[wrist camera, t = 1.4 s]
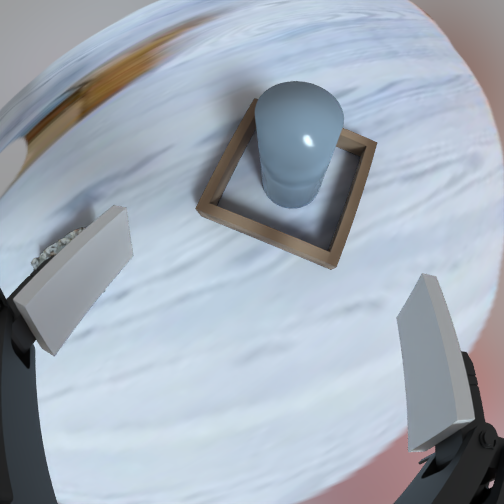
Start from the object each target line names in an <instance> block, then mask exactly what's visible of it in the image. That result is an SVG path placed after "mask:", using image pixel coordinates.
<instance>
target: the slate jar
mask: <svg viewBox="0 0 504 504" xmlns="http://www.w3.org/2000/svg"><path fill="white" fill-rule="evenodd" d="M255 121H256V129H257V138H258V147H259V156H260V165H261V175H262V184H263V188H264V191H265V193H266V195H267V196H268V198H269V199H270V200H271V201H273V202H274V203H275V204H277V205H279V206H282V207H285V208H300V207H303V206H305V205H307V204H309V203H310V202H311V201H313V200H314V198H315V197H316V196H317V194H318V192H319V189H320V187H321V184H322V181H323V179H324V176H325V174H326V171H327V168H328V166H329V163H330V160H331V158H332V155H333V152H334V150H335V147H336V144H337V142H338V139H339V136H340V133H341V131H342V128H343V124H344V115H343V111H342V108H341V106H340V104H339V102H338V101H337V100H336V98H335V97H334V96H333V95H332V94H330V93H329V92H328V91H326V90H325V89H323V88H321V87H319V86H317V85H314V84H311V83H307V82H299V81H291V82H284V83H280V84H277V85H275V86H273V87H271V88H269V89H268V90H266V91H265V92H264V93H263V94H262V95H261V96H260V98H259V99H258V101H257V103H256V107H255Z"/></svg>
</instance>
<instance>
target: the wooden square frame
mask: <svg viewBox="0 0 504 504" xmlns="http://www.w3.org/2000/svg"><path fill="white" fill-rule="evenodd" d="M257 101H258V99H255V98H254V100H253V102H252V103H251V105H250V107H249V109H248V110H247V112H246V114H245V116H244V117H243V119H242V121H241V123H240V124H239V126H238V128H237V130H236V132H235V133H234V135H233V137H232V139H231V141H230V142H229V144H228V146H227V148H226V150H225V152H224V154H223V155H222V157H221V159H220V161H219V163H218V165H217V167H216V169H215V171H214V173H213V175H212V177H211V178H210V180H209V182H208V184H207V186H206V188H205V190H204V192H203V194H202V196H201V198H200V200H199V202H198V204H197V206H196V210H197V211H198V213H199V214H200V215H201V216H202V217H205V218H207V219H210V220H212V221H215V222H217V223H219V224H222V225H224V226H227V227H229V228H232V229H234V230H237V231H239V232H241V233H244V234H246V235H249V236H251V237H254V238H256V239H258V240H261V241H263V242H266V243H268V244H271V245H273V246H275V247H278V248H280V249H283V250H285V251H287V252H290V253H292V254H295V255H297V256H299V257H302V258H304V259H307V260H309V261H311V262H314V263H316V264H318V265H321V266H323V267H325V268H328V269H330V270H332V269H334V268H336V267H337V264H338V262H339V259H340V256H341V254H342V251H343V248H344V246H345V243H346V240H347V237H348V234H349V232H350V229H351V226H352V223H353V220H354V217H355V214H356V211H357V208H358V205H359V202H360V199H361V196H362V193H363V190H364V186H365V183H366V180H367V177H368V173H369V170H370V167H371V163H372V160H373V156H374V153H375V149H376V145H377V142H375V141H372V140H370V139H368V138H366V137H363V136H361V135H359V134H356V133H354V132H352V131H349V130H347V129H344V128H342V131H341V133H340V136H339V139H338V142H337V144H336V147H339V148H341V149H343V150H346V151H348V152H351V153H353V154H355V155H358V156H360V160H359V163H358V166H357V170H356V173H355V176H354V179H353V182H352V185H351V188H350V191H349V194H348V197H347V199H346V202H345V205H344V208H343V211H342V214H341V216H340V219H339V222H338V225H337V228H336V230H335V233H334V236H333V238H332V241H331V244H330V246H329V249H328V251H326V250H324V249H321V248H319V247H317V246H314V245H312V244H309V243H307V242H305V241H302V240H300V239H297V238H295V237H293V236H290V235H288V234H285V233H283V232H281V231H278V230H276V229H273V228H271V227H268V226H266V225H263V224H261V223H258V222H256V221H253V220H251V219H248V218H246V217H243V216H241V215H238V214H236V213H233V212H231V211H228V210H226V209H223V208H221V207H218V206H217V204H218V202H219V200H220V198H221V196H222V194H223V192H224V190H225V188H226V186H227V184H228V182H229V180H230V178H231V176H232V174H233V172H234V170H235V168H236V166H237V164H238V162H239V160H240V158H241V156H242V154H243V152H244V150H245V148H246V146H247V144H248V142H249V141H250V139H251V137H252V135H253V133H254V131H255V129H256V121H255V107H256V103H257Z"/></svg>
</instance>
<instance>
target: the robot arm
mask: <svg viewBox="0 0 504 504" xmlns="http://www.w3.org/2000/svg"><path fill="white" fill-rule="evenodd" d="M132 257H133V250H132V244H131V237H130V230H129V223H128V215H127V208H126V207H121V206H115V205H113V206H112V207H111V208H110V209H108V210H107V211H106V212H105V213H103V214H102V215H101V216H100V217H99V218H97V219H96V220H95V221H94V222H93V223H91V224H90V225H89V226H88V227H87V228H86V229H84V230H83V231H82V232H81V233H80V234H79V235H77V236H76V237H75V238H74V239H73V240H72V241H71V242H70V243H69V244H67V245H66V246H65V247H64V248H63V249H62V250H61V251H60V252H59V253H58V254H57V255H53V256H51V257H50V258H48V259H46V260H44V261H43V262H42V263H41V264H40V265H39V266H38V267H37V269H36V270H34V271H33V272H32V273H31V274H30V276H28V277H27V278H26V279H25V280H24V281H23V282H22V283H21V284H20V285H19V286H18V288H17V289H16V290H15V291H14V292H13V293H12V294H11V295H10V296H9V297H8V298H7V299H6V298H5V296H4V294H3V292H2V290H1V288H0V504H58V503H57V500H56V497H55V494H54V490H53V486H52V483H51V479H50V475H49V471H48V466H47V462H46V457H45V452H44V447H43V441H42V435H41V428H40V421H39V412H38V402H37V390H36V370H35V347H34V345H33V343H34V342H35V340H37V342H38V343H39V345H40V346H41V348H42V349H43V350H45V351H47V352H48V353H50V354H51V355H53V356H55V355H56V354H57V352H58V351H59V350H60V348H61V347H62V345H63V344H64V343H65V341H66V340H67V338H68V337H69V336H70V334H71V333H72V332H73V330H74V329H75V328H76V326H77V325H78V324H79V322H80V321H81V320H82V318H83V317H84V316H85V315H86V313H87V312H88V311H89V309H90V308H91V307H92V306H93V304H94V303H95V302H96V301H97V299H98V298H99V297H100V296H101V294H102V293H103V292H104V291H105V289H106V288H107V287H108V286H109V285H110V283H111V282H112V281H113V280H114V279H115V277H116V276H117V275H118V274H119V273H120V271H121V270H122V269H123V268H124V267H125V266H126V264H127V263H128V262H129V261H130V260H131V259H132ZM397 324H398V330H399V337H400V344H401V351H402V359H403V368H404V377H405V388H406V401H407V419H408V452H419V451H420V452H422V451H427V450H428V449H430V448H432V447H433V446H435V453H433V454H431V455H429V456H427V457H426V458H424V459H422V460H421V461H420V462H419V464H422V463H424V462H426V461H427V462H426V463H425V465H424V466H423V468H422V469H421V470H420V472H419V473H418V474H417V476H416V477H415V478H414V480H413V481H412V482H411V483H410V485H409V486H408V487H407V488H406V490H405V491H404V492H403V493H402V495H401V496H400V497H399V498H398V499H397V500H396V501H395V503H394V504H504V438H501V437H498V435H497V432H496V430H495V428H494V427H493V426H492V425H491V424H489V423H486V422H485V419H484V412H483V407H482V401H481V397H480V391H479V387H478V386H477V385H478V383H477V378H476V377H475V375H476V374H475V370H474V366H473V363H472V361H471V359H470V358H469V356H468V354H467V352H462V351H461V350H460V346H459V342H458V339H457V335H456V332H455V329H454V326H453V322H452V319H451V316H450V313H449V310H448V307H447V304H446V301H445V299H444V296H443V293H442V290H441V288H440V285H439V283H438V280H437V277H435V276H432V275H428V274H423V273H422V274H421V276H420V278H419V280H418V282H417V284H416V285H415V287H414V289H413V291H412V292H411V294H410V296H409V298H408V299H407V301H406V303H405V305H404V306H403V308H402V310H401V311H400V313H399V314H398V316H397ZM493 480H495V481H494V484H493V487H492V488H488V486H489V482H491V481H493Z"/></svg>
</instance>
